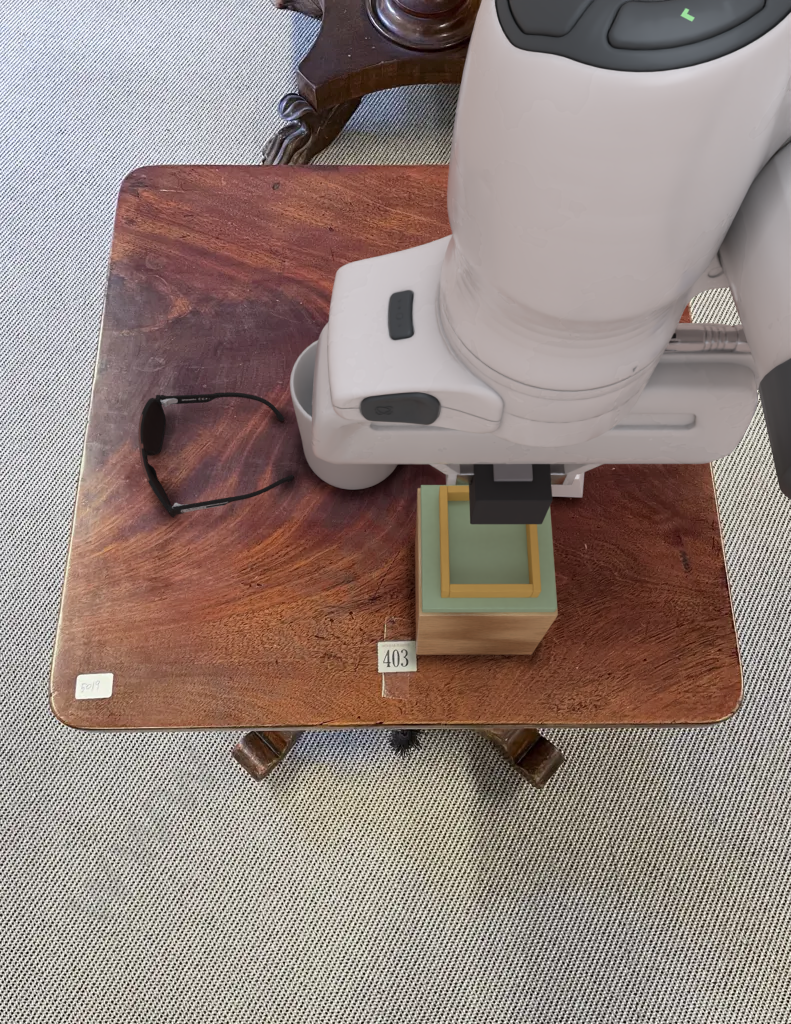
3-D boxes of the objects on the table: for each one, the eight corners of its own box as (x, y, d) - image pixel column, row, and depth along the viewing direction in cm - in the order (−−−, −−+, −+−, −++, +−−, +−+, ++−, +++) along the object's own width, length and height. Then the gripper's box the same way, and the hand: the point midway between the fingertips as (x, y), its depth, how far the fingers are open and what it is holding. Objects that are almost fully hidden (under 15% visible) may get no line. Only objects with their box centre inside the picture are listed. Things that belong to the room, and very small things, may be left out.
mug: (287, 471, 72) (269, 409, 62) (327, 388, 75) (315, 316, 65) (420, 519, 71) (424, 463, 61) (456, 432, 74) (464, 365, 63)
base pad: (546, 490, 59) (552, 475, 56) (554, 612, 56) (561, 602, 53) (420, 490, 59) (421, 475, 56) (422, 612, 56) (422, 602, 53)
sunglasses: (142, 418, 74) (133, 388, 70) (280, 403, 76) (280, 373, 72) (153, 531, 70) (144, 507, 66) (298, 511, 73) (299, 487, 68)
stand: (525, 545, 70) (548, 487, 59) (531, 654, 67) (558, 615, 55) (414, 545, 70) (417, 487, 59) (416, 654, 67) (418, 615, 56)
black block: (536, 443, 49) (547, 412, 46) (542, 524, 48) (553, 498, 44) (467, 443, 49) (472, 412, 46) (470, 524, 48) (475, 498, 44)
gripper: (795, 265, 35) (689, 421, 48) (298, 266, 35) (324, 421, 48) (823, 400, 33) (704, 526, 46) (291, 401, 33) (321, 527, 46)
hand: (506, 472), depth 47 cm, fingers closed on black block, 4 cm apart
